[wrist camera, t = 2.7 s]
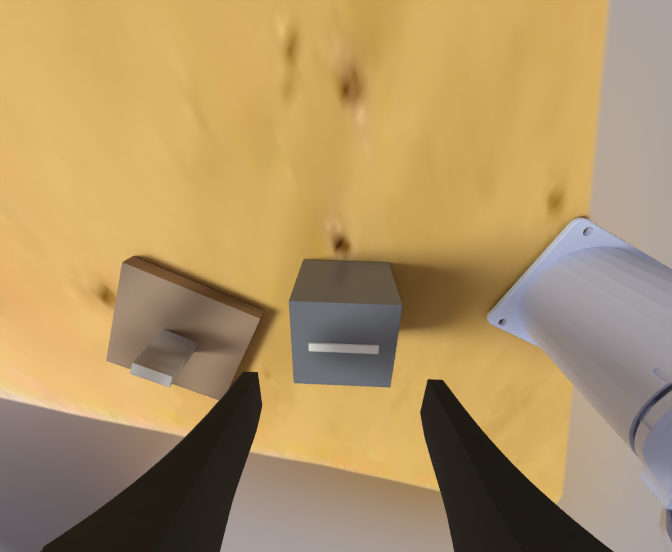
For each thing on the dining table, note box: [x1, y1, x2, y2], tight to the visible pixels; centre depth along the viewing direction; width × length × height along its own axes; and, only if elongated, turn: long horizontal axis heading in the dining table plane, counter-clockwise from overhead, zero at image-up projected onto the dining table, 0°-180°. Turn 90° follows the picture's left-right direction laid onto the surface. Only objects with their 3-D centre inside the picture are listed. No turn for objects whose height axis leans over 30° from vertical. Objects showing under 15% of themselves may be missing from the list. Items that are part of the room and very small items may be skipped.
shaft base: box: [106, 256, 264, 400], centre depth 19 cm, size 9×9×4 cm
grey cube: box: [289, 260, 403, 387], centre depth 17 cm, size 5×5×5 cm
